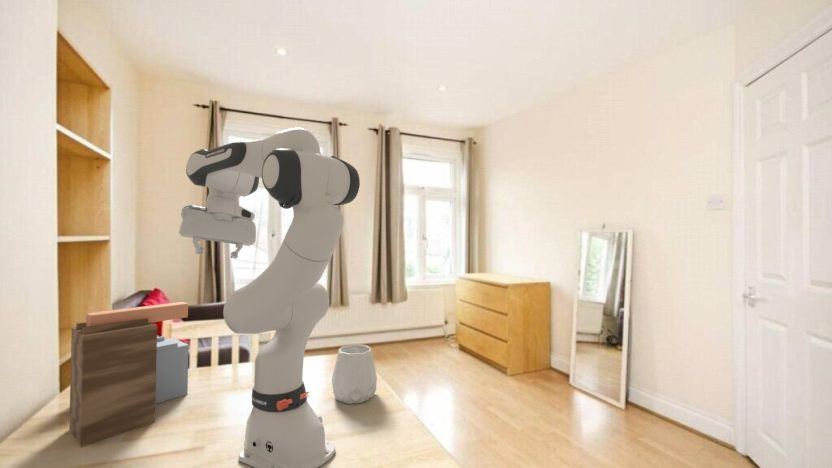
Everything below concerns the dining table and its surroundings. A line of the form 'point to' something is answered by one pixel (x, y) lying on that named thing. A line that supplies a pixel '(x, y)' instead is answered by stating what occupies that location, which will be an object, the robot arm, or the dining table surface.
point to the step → (171, 369)
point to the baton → (139, 314)
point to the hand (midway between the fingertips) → (217, 256)
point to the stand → (112, 378)
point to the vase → (354, 374)
